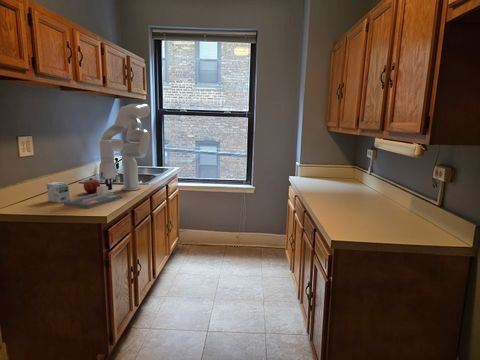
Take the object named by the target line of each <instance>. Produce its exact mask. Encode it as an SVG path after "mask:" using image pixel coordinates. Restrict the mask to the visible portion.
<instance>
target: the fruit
mask: <svg viewBox="0 0 480 360" xmlns="http://www.w3.org/2000/svg"><path fill="white" fill-rule="evenodd" d="M99 186H101V184H100V181H98V179H94V178H93V177H90V178H89V179H87V180H85V181H84V183H83V189H84V191H85V192H86V193H90V194H95V193H97V187H99Z"/></svg>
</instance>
